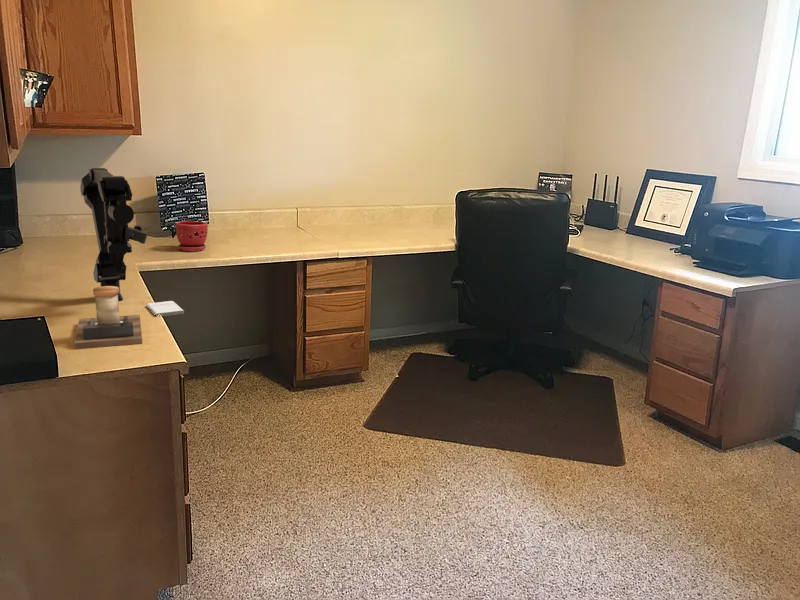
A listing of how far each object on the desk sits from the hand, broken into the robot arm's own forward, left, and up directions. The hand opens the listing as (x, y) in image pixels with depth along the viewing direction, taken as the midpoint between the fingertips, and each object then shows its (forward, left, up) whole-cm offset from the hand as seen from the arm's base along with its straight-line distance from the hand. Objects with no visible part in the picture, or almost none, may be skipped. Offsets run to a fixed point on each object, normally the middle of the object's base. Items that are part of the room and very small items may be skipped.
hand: (119, 271), depth 206 cm
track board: (+23, -5, -12) cm, 26 cm away
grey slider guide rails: (+23, -5, -10) cm, 26 cm away
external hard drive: (+4, +12, -13) cm, 18 cm away
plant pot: (-88, +37, -12) cm, 96 cm away
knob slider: (+25, -5, -10) cm, 27 cm away
